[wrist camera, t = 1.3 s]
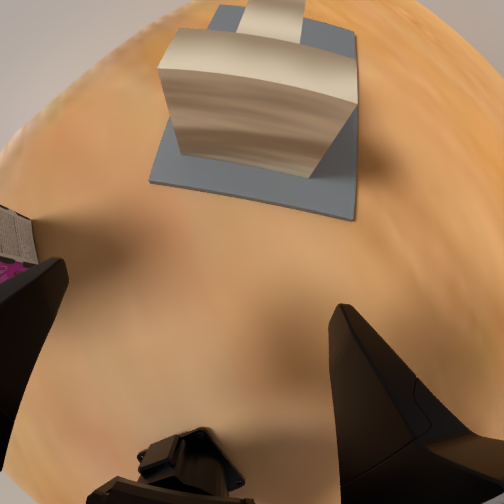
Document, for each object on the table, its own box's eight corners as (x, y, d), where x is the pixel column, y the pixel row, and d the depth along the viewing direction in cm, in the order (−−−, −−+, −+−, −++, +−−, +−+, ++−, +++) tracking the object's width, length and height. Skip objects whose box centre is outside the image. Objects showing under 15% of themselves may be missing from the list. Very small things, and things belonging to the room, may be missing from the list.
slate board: (350, 221, 23) (353, 219, 22) (150, 183, 22) (148, 180, 22) (352, 35, 27) (354, 31, 26) (219, 8, 26) (219, 4, 26)
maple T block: (308, 178, 23) (357, 103, 13) (181, 154, 22) (157, 68, 12) (316, 93, 24) (352, 13, 14) (208, 73, 24) (205, -14, 14)
